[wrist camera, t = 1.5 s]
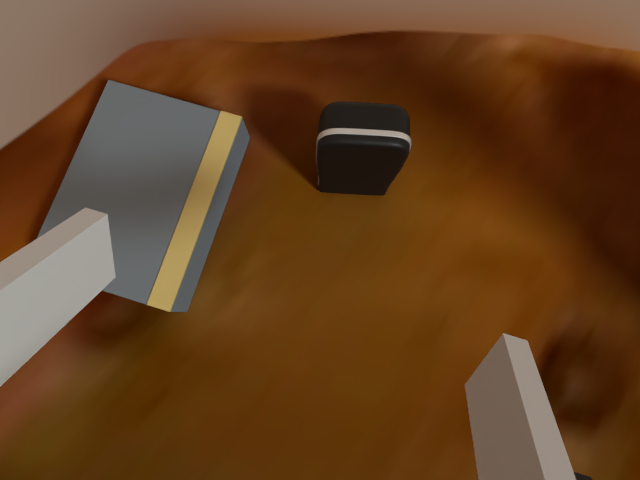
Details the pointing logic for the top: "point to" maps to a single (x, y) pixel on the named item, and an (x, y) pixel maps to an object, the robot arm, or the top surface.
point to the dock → (154, 188)
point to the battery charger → (361, 147)
